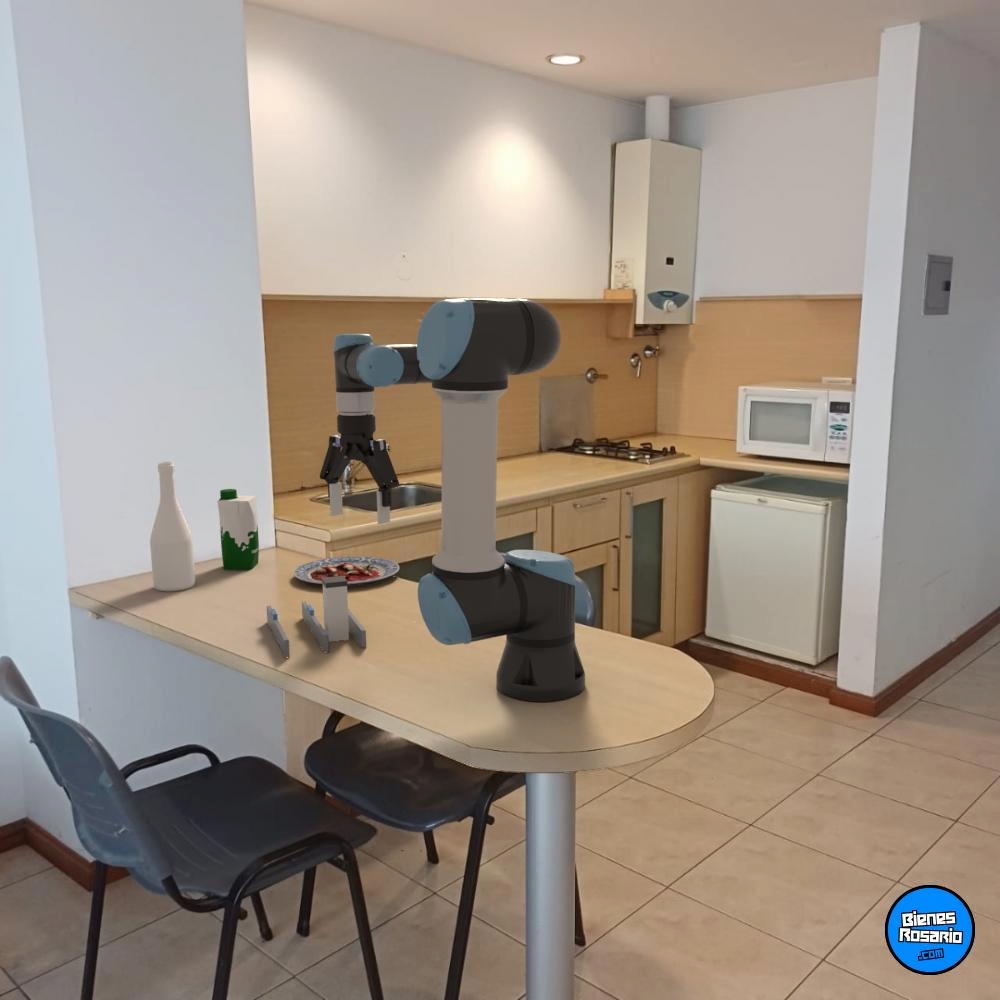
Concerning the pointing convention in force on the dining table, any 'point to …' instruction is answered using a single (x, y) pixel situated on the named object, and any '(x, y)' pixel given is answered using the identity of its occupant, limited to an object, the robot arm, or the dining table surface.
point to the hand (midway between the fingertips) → (359, 518)
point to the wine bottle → (171, 539)
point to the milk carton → (238, 530)
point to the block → (335, 608)
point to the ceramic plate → (347, 569)
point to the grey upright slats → (313, 628)
